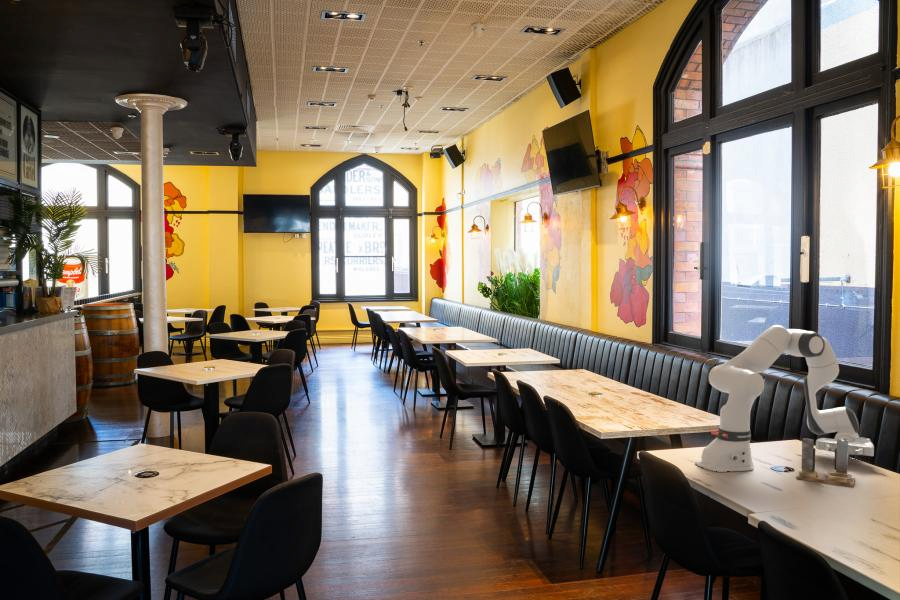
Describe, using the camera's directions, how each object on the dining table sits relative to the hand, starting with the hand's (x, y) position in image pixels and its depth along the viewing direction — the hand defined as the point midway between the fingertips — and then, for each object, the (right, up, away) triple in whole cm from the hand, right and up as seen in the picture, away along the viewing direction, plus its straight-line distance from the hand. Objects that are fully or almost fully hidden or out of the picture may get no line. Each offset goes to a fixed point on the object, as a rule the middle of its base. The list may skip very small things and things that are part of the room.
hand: (843, 451), depth 275 cm
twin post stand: (-15, -8, -15) cm, 22 cm away
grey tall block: (-6, -7, -9) cm, 13 cm away
